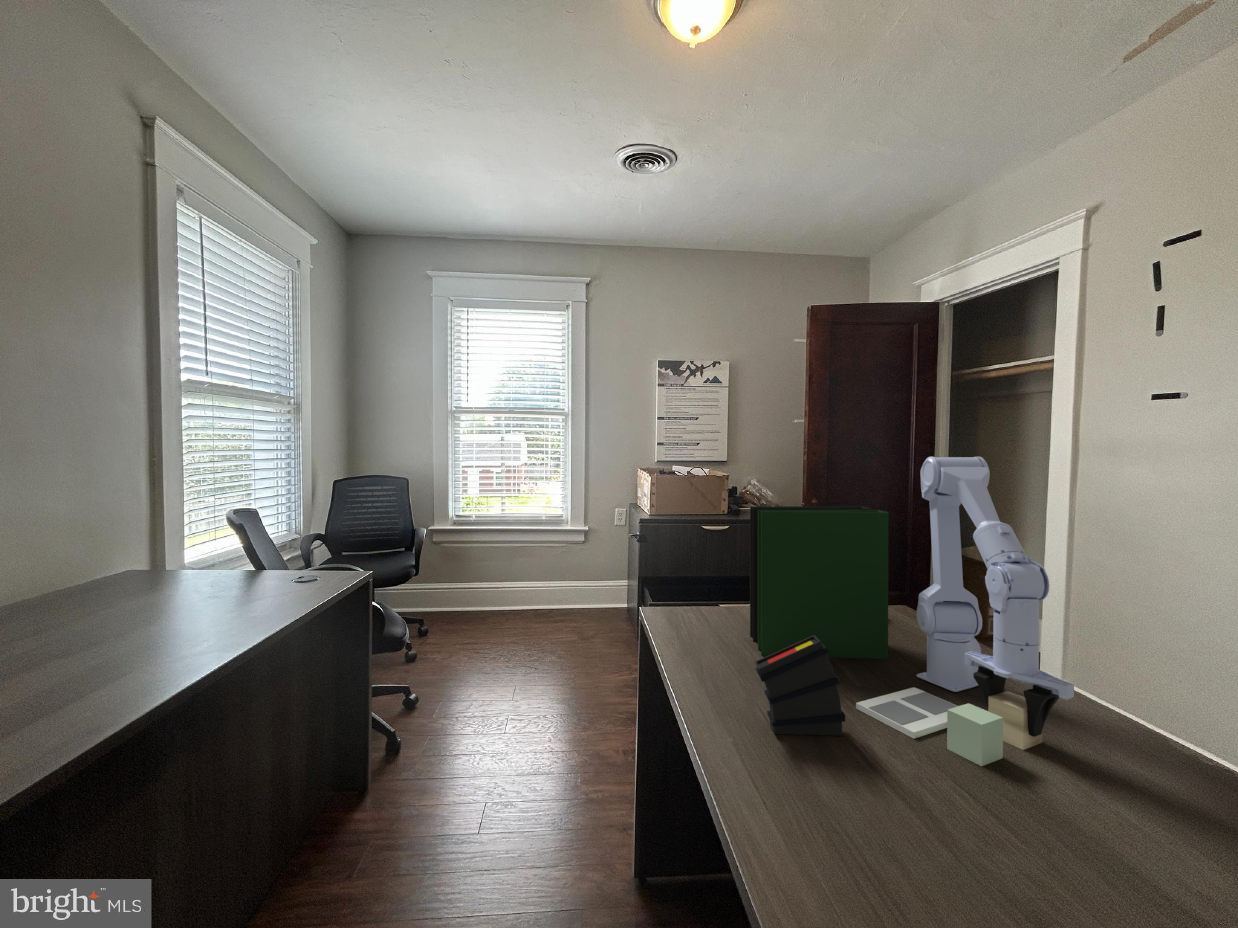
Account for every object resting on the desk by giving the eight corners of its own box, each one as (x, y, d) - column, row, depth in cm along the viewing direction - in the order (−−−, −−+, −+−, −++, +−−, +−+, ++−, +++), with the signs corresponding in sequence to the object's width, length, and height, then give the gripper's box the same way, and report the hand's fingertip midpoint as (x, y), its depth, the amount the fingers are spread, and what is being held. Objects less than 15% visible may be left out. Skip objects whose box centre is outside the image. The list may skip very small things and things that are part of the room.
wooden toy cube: (1007, 727, 86) (1007, 690, 86) (1042, 742, 82) (1042, 703, 82) (988, 734, 84) (988, 696, 84) (1023, 749, 80) (1023, 710, 80)
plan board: (914, 692, 99) (914, 686, 99) (974, 718, 89) (974, 712, 89) (856, 708, 93) (856, 702, 93) (913, 738, 83) (913, 731, 83)
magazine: (865, 727, 83) (823, 641, 83) (787, 761, 84) (746, 675, 84) (855, 715, 87) (815, 633, 87) (781, 748, 88) (742, 666, 88)
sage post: (968, 741, 82) (968, 703, 82) (1002, 758, 78) (1003, 717, 78) (947, 748, 80) (947, 709, 80) (981, 766, 76) (981, 724, 76)
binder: (762, 656, 117) (762, 512, 117) (748, 634, 132) (748, 505, 132) (888, 658, 116) (888, 512, 115) (860, 635, 131) (860, 506, 130)
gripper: (953, 629, 88) (952, 710, 88) (1055, 659, 75) (1054, 755, 75) (979, 623, 91) (979, 702, 91) (1082, 651, 78) (1081, 744, 78)
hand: (1015, 725), depth 83 cm, fingers closed on wooden toy cube, 5 cm apart
